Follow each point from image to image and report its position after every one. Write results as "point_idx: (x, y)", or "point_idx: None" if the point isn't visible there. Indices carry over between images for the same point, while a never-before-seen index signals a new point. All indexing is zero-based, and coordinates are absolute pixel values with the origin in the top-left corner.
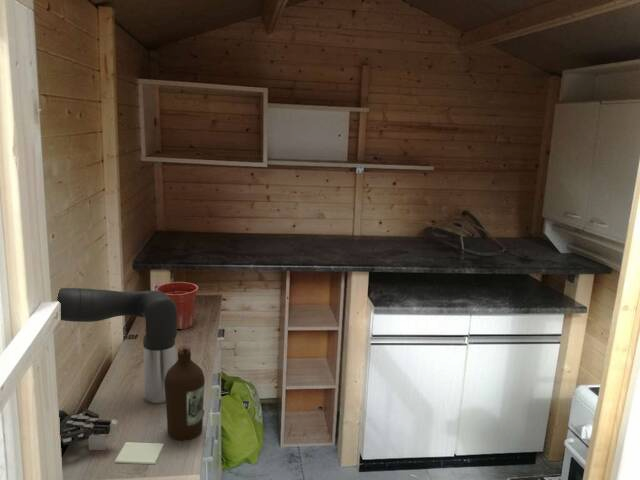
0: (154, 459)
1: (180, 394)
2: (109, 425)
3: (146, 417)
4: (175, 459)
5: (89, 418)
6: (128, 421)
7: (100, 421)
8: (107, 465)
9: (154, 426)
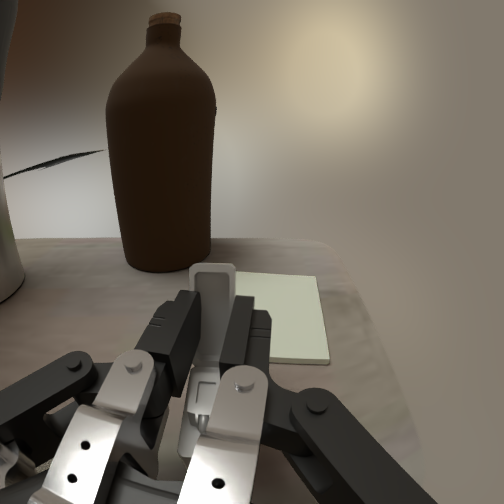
0: (301, 278)
1: (214, 114)
2: (234, 293)
3: (57, 312)
4: (287, 257)
5: (103, 409)
6: (49, 353)
7: (172, 338)
8: (347, 382)
9: (116, 296)
